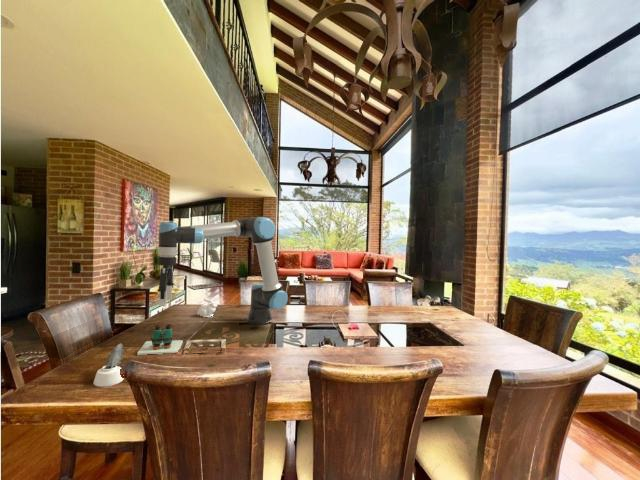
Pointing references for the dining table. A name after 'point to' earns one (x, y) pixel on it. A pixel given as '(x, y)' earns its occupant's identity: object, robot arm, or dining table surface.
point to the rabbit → (207, 308)
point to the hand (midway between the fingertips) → (165, 302)
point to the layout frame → (223, 341)
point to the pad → (148, 348)
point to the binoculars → (158, 336)
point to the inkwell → (110, 369)
